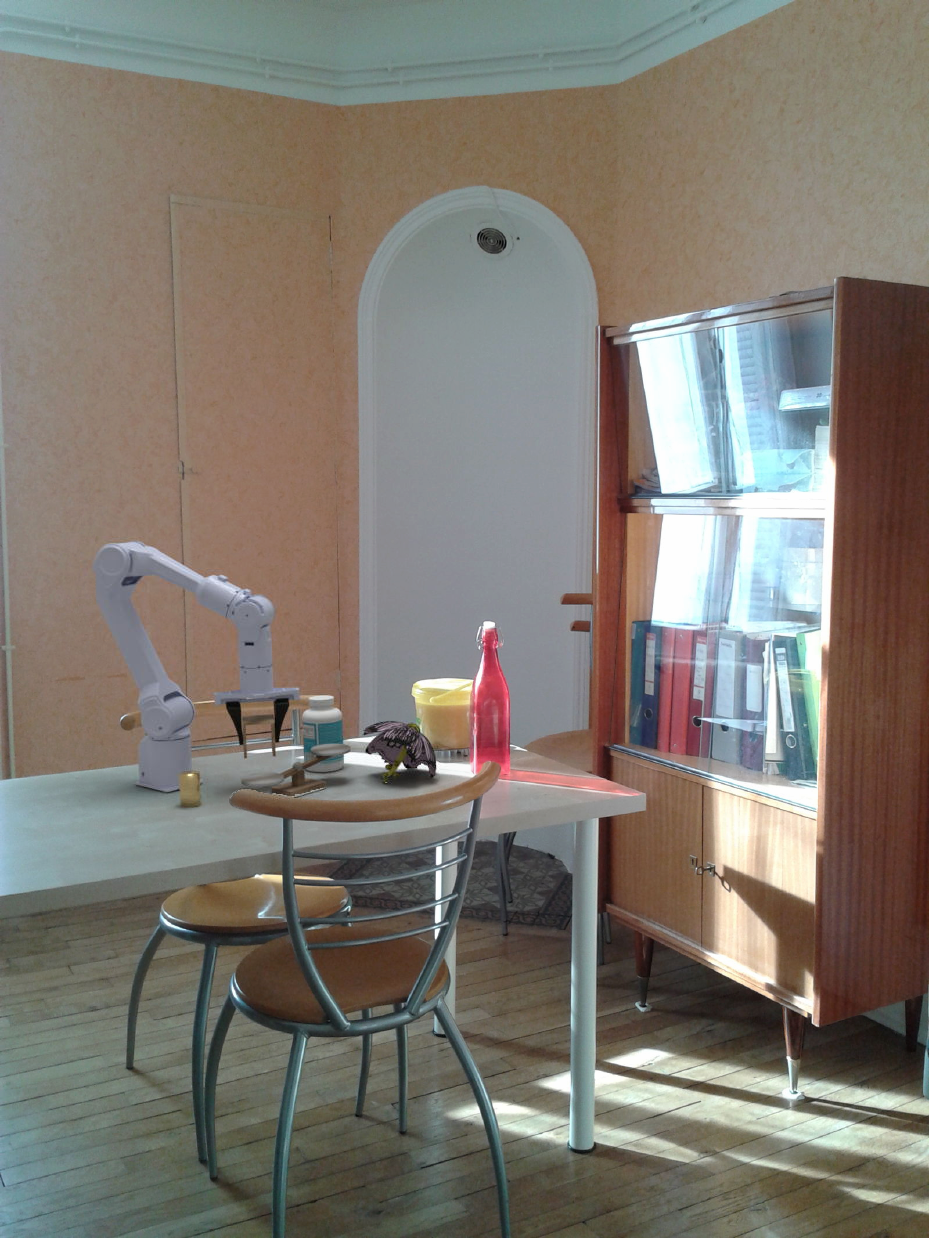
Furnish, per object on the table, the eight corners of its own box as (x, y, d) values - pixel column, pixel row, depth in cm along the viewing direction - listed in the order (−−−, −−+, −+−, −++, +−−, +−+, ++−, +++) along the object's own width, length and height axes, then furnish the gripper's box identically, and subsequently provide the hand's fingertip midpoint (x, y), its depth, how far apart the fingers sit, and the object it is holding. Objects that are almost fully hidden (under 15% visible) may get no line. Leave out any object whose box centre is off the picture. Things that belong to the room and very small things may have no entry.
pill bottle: (347, 763, 212) (345, 693, 211) (339, 773, 205) (337, 701, 203) (309, 763, 213) (306, 693, 211) (299, 773, 206) (297, 701, 204)
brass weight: (176, 805, 186) (174, 773, 185) (192, 800, 188) (191, 769, 188) (188, 808, 184) (187, 776, 183) (205, 804, 186) (204, 772, 186)
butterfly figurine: (460, 727, 197) (379, 709, 192) (448, 792, 194) (366, 775, 190) (433, 733, 210) (358, 717, 206) (422, 795, 207) (345, 779, 203)
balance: (233, 803, 186) (231, 767, 186) (331, 774, 204) (330, 741, 203) (261, 810, 182) (260, 773, 181) (359, 780, 200) (358, 746, 199)
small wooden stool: (244, 758, 192) (242, 722, 191) (243, 750, 197) (242, 716, 196) (275, 756, 193) (274, 720, 192) (274, 748, 198) (273, 714, 197)
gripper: (213, 671, 188) (217, 750, 190) (300, 666, 191) (302, 744, 193) (212, 665, 195) (216, 741, 196) (296, 661, 198) (299, 736, 200)
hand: (259, 742), depth 195 cm, fingers closed on small wooden stool, 5 cm apart
